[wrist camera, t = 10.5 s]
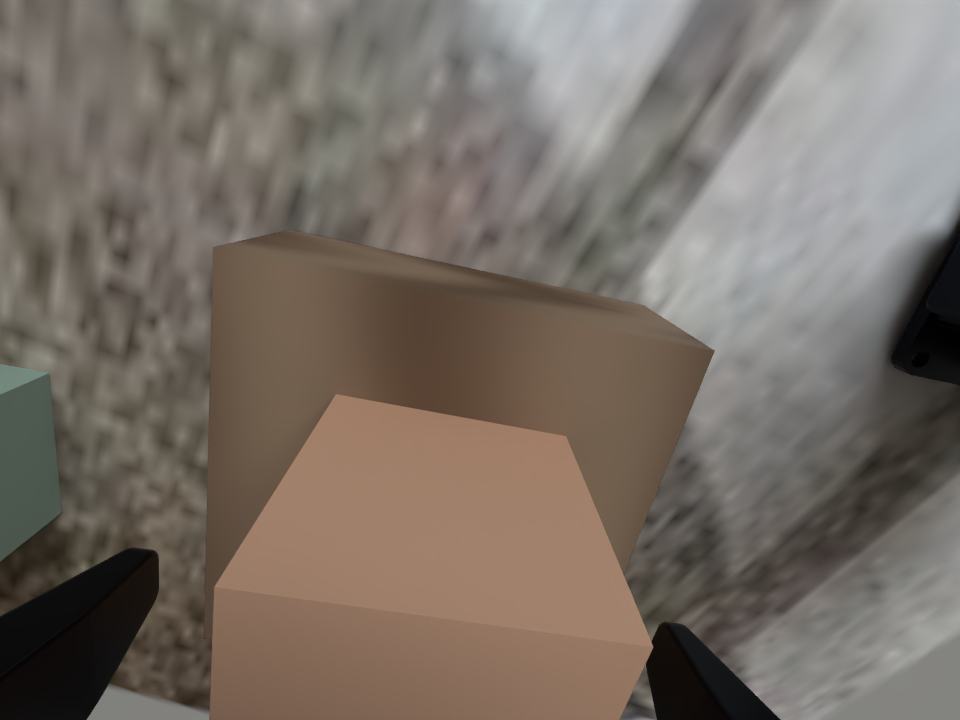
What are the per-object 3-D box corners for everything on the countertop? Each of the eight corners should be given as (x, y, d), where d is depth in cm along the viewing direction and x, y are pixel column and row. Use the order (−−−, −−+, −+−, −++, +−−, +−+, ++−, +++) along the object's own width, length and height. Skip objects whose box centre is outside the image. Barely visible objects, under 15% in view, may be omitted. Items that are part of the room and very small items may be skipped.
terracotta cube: (566, 436, 10) (653, 647, 5) (511, 606, 12) (542, 881, 7) (336, 394, 10) (213, 586, 5) (312, 578, 11) (204, 853, 7)
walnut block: (644, 305, 13) (715, 350, 10) (552, 573, 17) (578, 685, 13) (289, 230, 12) (213, 247, 9) (266, 531, 16) (203, 638, 12)
